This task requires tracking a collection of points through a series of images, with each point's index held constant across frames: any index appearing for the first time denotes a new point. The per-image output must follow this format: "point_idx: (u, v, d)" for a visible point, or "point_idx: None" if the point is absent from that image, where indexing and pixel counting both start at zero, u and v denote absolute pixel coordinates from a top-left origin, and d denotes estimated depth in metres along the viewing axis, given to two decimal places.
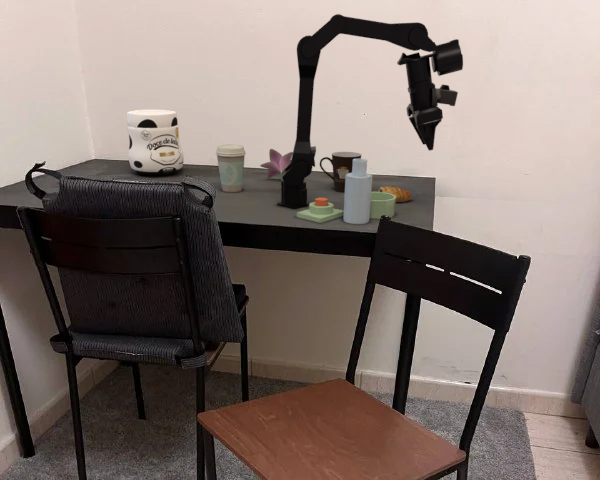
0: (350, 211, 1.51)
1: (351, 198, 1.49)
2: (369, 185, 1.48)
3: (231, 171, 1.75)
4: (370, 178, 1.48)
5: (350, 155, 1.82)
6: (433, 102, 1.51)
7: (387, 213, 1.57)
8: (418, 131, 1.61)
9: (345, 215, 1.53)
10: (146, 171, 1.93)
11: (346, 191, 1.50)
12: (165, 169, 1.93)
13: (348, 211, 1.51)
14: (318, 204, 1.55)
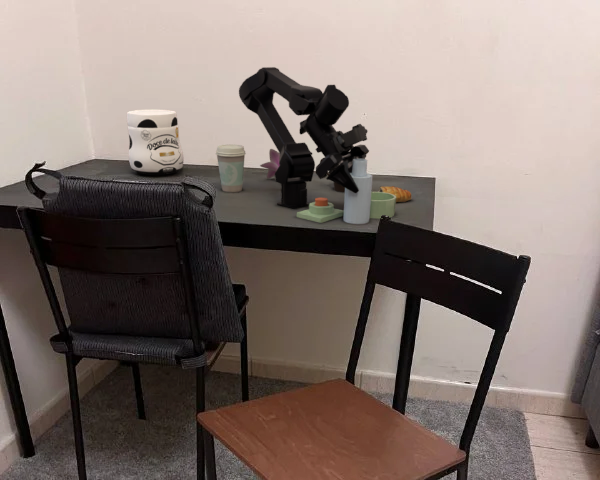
0: (350, 211, 1.51)
1: (351, 198, 1.49)
2: (369, 185, 1.48)
3: (231, 171, 1.75)
4: (370, 178, 1.48)
5: None
6: (338, 149, 1.46)
7: (387, 213, 1.57)
8: None
9: (345, 215, 1.53)
10: (146, 171, 1.93)
11: (346, 191, 1.50)
12: (165, 169, 1.93)
13: (348, 211, 1.51)
14: (318, 204, 1.55)
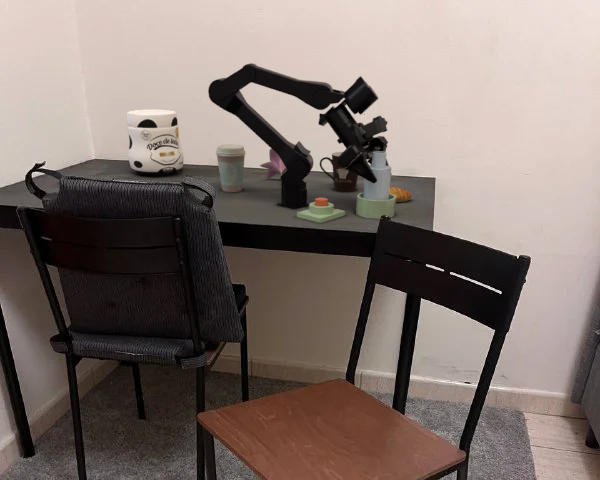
0: None
1: (371, 189, 1.55)
2: (388, 177, 1.54)
3: (231, 171, 1.75)
4: (389, 170, 1.54)
5: None
6: (359, 140, 1.51)
7: (387, 213, 1.57)
8: None
9: None
10: (146, 171, 1.93)
11: (366, 182, 1.56)
12: (165, 169, 1.93)
13: None
14: (318, 204, 1.55)
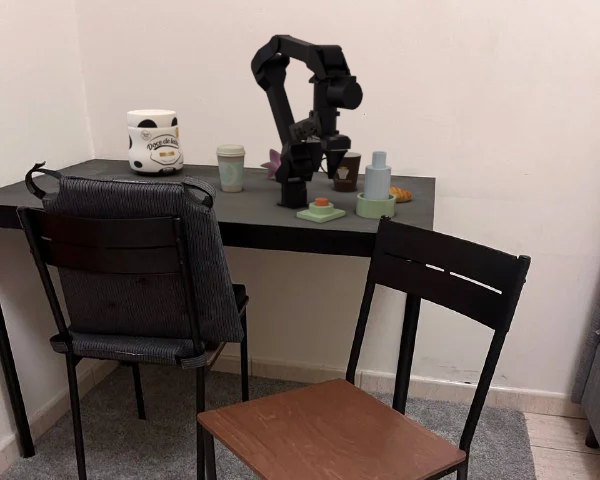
0: None
1: (371, 189, 1.55)
2: (388, 177, 1.54)
3: (231, 171, 1.75)
4: (389, 170, 1.54)
5: (350, 155, 1.82)
6: None
7: (387, 213, 1.57)
8: None
9: None
10: (146, 171, 1.93)
11: (366, 182, 1.56)
12: (165, 169, 1.93)
13: None
14: (318, 204, 1.55)
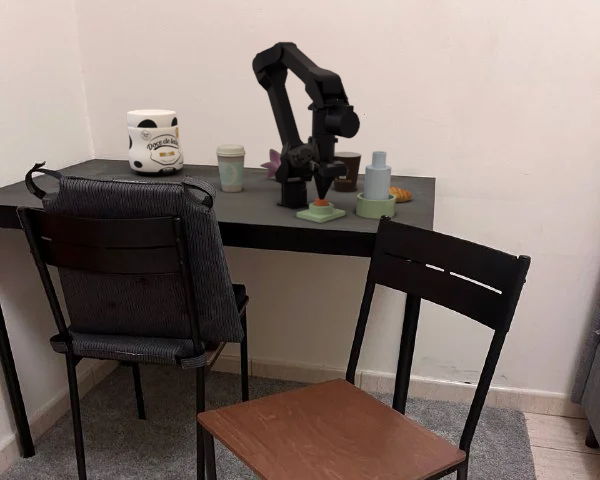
0: None
1: (371, 189, 1.55)
2: (388, 177, 1.54)
3: (231, 171, 1.75)
4: (389, 170, 1.54)
5: (350, 155, 1.82)
6: None
7: (387, 213, 1.57)
8: None
9: None
10: (146, 171, 1.93)
11: (366, 182, 1.56)
12: (165, 169, 1.93)
13: None
14: (318, 204, 1.55)
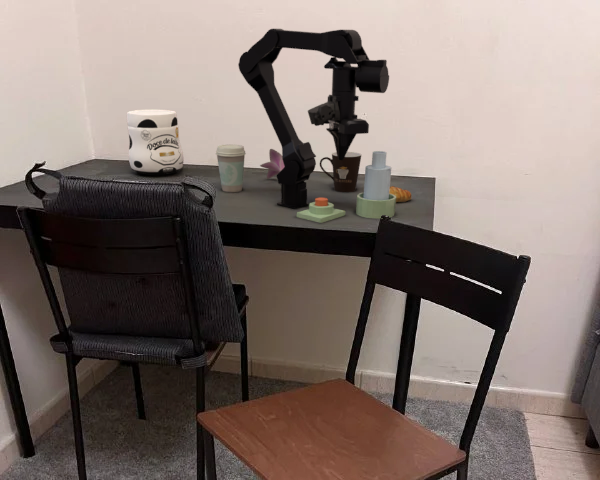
0: None
1: (371, 189, 1.55)
2: (388, 177, 1.54)
3: (231, 171, 1.75)
4: (389, 170, 1.54)
5: (350, 155, 1.82)
6: None
7: (387, 213, 1.57)
8: None
9: None
10: (146, 171, 1.93)
11: (366, 182, 1.56)
12: (165, 169, 1.93)
13: None
14: (318, 204, 1.55)
